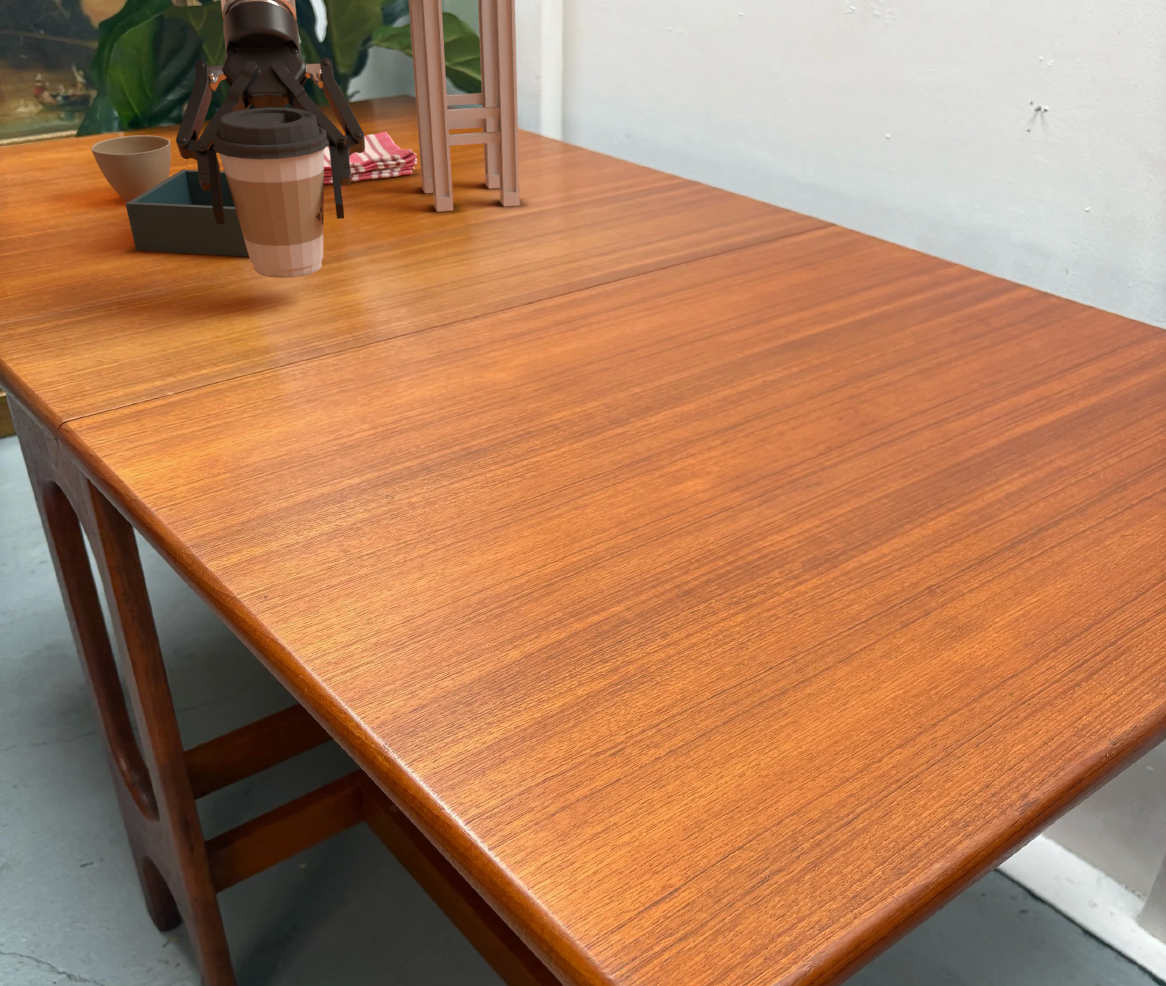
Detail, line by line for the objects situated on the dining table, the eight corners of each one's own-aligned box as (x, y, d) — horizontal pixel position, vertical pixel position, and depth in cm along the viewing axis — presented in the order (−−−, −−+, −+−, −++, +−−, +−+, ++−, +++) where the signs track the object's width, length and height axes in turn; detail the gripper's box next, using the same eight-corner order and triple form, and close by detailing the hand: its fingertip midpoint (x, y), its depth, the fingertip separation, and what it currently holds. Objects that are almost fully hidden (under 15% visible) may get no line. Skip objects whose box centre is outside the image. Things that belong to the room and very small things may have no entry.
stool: (538, 208, 148) (534, -96, 128) (424, 217, 144) (402, -95, 124) (510, 178, 160) (502, -104, 140) (405, 186, 157) (381, -103, 137)
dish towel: (421, 174, 162) (419, 149, 160) (262, 192, 153) (258, 166, 151) (386, 148, 174) (384, 125, 172) (238, 163, 166) (233, 139, 164)
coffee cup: (351, 278, 114) (335, 126, 106) (239, 290, 111) (213, 134, 102) (332, 245, 123) (316, 102, 115) (227, 255, 120) (203, 108, 111)
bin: (135, 250, 133) (125, 203, 129) (190, 213, 145) (182, 169, 142) (259, 257, 131) (252, 209, 128) (304, 218, 144) (298, 174, 140)
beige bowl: (113, 189, 154) (101, 135, 150) (187, 187, 155) (176, 134, 151) (95, 210, 146) (82, 154, 142) (173, 208, 147) (161, 152, 143)
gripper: (375, 43, 121) (397, 227, 117) (149, 47, 116) (165, 238, 113) (373, -5, 113) (397, 190, 110) (133, -3, 109) (149, 200, 106)
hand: (280, 214), depth 111 cm, fingers closed on coffee cup, 11 cm apart
